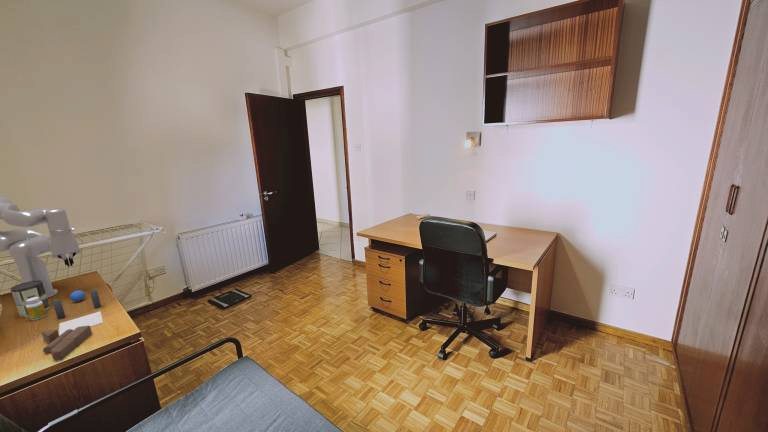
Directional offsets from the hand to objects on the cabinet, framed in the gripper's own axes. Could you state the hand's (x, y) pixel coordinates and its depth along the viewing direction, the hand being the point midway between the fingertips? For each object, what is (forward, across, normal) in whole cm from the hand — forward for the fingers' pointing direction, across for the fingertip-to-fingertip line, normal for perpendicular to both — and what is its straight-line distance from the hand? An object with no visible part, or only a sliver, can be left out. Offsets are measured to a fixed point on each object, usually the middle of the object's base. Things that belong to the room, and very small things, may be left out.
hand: (70, 265), depth 162 cm
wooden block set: (+18, +8, +56) cm, 60 cm away
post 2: (+17, -6, +26) cm, 31 cm away
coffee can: (+17, +16, +7) cm, 24 cm away
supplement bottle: (+17, +14, +17) cm, 28 cm away
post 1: (+17, +6, +26) cm, 31 cm away
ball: (+14, 0, +10) cm, 17 cm away
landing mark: (+17, 0, +40) cm, 43 cm away
